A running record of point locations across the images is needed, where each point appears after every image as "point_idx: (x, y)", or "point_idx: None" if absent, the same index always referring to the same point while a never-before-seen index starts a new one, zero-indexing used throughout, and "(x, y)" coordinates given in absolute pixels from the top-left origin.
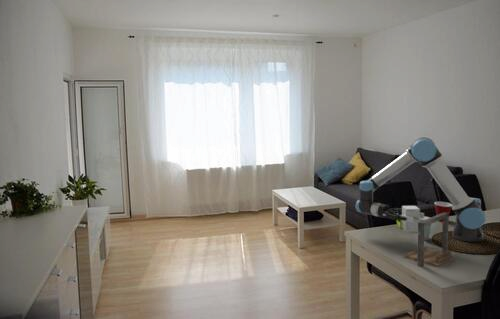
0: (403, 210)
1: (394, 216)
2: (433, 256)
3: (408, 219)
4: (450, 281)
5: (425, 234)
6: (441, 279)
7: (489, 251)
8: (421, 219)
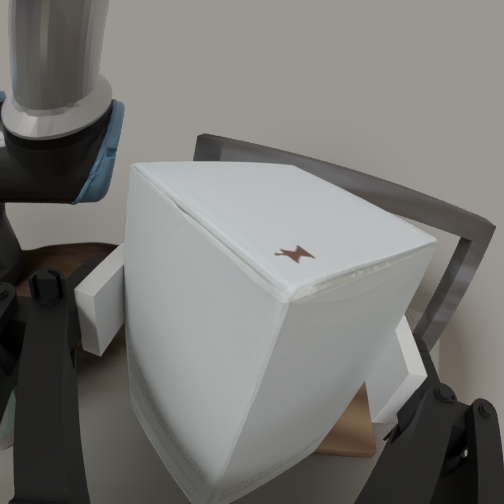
0: (368, 322)
1: (491, 433)
2: None
3: None
4: (404, 313)
5: (12, 393)
6: (414, 327)
7: (106, 247)
8: None
